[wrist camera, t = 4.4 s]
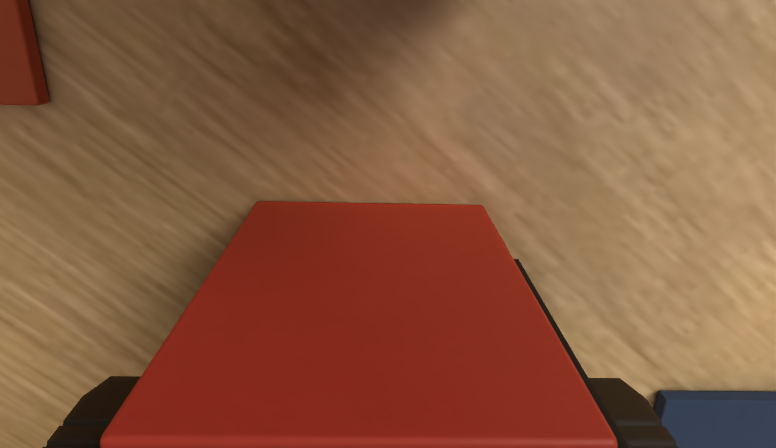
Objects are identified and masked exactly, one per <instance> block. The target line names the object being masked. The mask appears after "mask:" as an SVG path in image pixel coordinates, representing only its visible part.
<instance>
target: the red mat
mask: <svg viewBox="0 0 776 448" xmlns="http://www.w3.org/2000/svg"><path fill="white" fill-rule="evenodd" d="M48 102H49V98H48V93H47V89H46V84H45V79H44V74H43V69H42V64H41V60H40V55H39V50H38V45H37V40H36V36H35V31H34V26H33V21H32V16H31V12H30V7H29V2H28V0H0V105H41V104H45V103H48Z"/></svg>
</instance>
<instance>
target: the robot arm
mask: <svg viewBox="0 0 776 448" xmlns="http://www.w3.org/2000/svg"><path fill="white" fill-rule="evenodd" d="M514 261H515V263H516V264H517V266H518V268H519V270H520V271H521V273H522V275H523V277H524V278H525V280H526V282H527V284H528V285H529V287H530V289H531V291H532V292H533V294H534V296H535V298H536V299H537V301H538V303H539V304H540V306H541V308H542V310H543V311H544V313H545V315H546V317H547V318H548V320H549V322H550V324H551V325H552V327H553V329H554V331H555V332H556V334H557V336H558V338H559V339H560V341H561V343H562V345H563V346H564V348H565V350H566V352H567V353H568V355H569V357H570V359H571V360H572V362H573V364H574V366H575V367H576V369H577V371H578V372H579V374H580V376H581V378H582V379H583V381H584V383H585V385H586V386H587V388H588V390H589V392H590V393H591V395H592V397H593V399H594V400H595V402H596V404H597V406H598V407H599V409H600V411H601V413H602V414H603V416H604V418H605V420H606V421H607V423H608V425H609V427H610V428H611V430H612V432H613V434H614V435H615V437H616V440H617V448H680V447H677V444H676V443H677V442H676V441H675V439H674V438H673V436H672V435H671V434H670V432H669V431H668V429H667V428H666V427H663V426H662V421H661V420H660V418H659V417H658V415H657V414H656V413H655V411H654V410H653V408H652V407H651V406H650V404H649V403H648V401H647V400H646V398H644V397H643V396H642V395H641V394H639V393H638V392H637V391H635V390H634V389H633V388H631V387H630V386H629V385H628V384H626V383H625V382H624V381H622V380H621V379H620V378H588V377H587V375H586V374H585V372H584V370H583V368H582V367H581V365H580V363H579V362H578V360H577V358H576V357H575V355H574V353H573V352H572V350H571V348H570V346H569V345H568V343H567V341H566V340H565V338H564V336H563V335H562V333H561V331H560V329H559V328H558V326H557V324H556V323H555V321H554V319H553V318H552V316H551V314H550V313H549V311H548V309H547V307H546V306H545V304H544V302H543V301H542V299H541V297H540V296H539V294H538V292H537V290H536V289H535V287H534V285H533V284H532V282H531V280H530V279H529V277H528V275H527V274H526V272H525V270H524V268H523V267H522V265H521V263H520V262H519V260H518V259H514ZM139 379H140V377H127V376H111V377H109V378H108V379H106V380H105V381H104V382H102V383H101V384H99V385H98V386H97V387H95V388H94V389H92V390H91V391H90V392H88V393H87V394H85V395H84V396H83V397H82V398H81V399H80V400H79V402H78V403H77V404H76V406H75V407H74V408H73V409H72V411H71V412H70V413H69V414H68V416H67V417H66V418H65V420H64V423H63V426H59V427H58V429H57V430H56V431H55V432H54V434H53V435H52V436H51V437H50V439H49V440H48V441H47V446H46V447H43V448H100V440H101V437H102V434H103V433H104V431H105V430H106V428H107V427H108V425H109V424H110V422H111V421H112V419H113V418H114V416H115V415H116V413H117V412H118V410H119V409H120V407H121V406H122V404H123V403H124V401H125V400H126V398H127V397H128V395H129V394H130V392H131V391H132V389H133V388H134V386H135V385H136V383H137V382H138V380H139Z"/></svg>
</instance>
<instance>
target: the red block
mask: <svg viewBox="0 0 776 448" xmlns="http://www.w3.org/2000/svg"><path fill="white" fill-rule="evenodd" d="M100 448H617V440H616V437H615V435H614V434H613V432H612V430H611V428H610V427H609V425H608V423H607V421H606V420H605V418H604V416H603V414H602V413H601V411H600V409H599V407H598V406H597V404H596V402H595V400H594V399H593V397H592V395H591V393H590V392H589V390H588V388H587V386H586V385H585V383H584V381H583V379H582V378H581V376H580V374H579V372H578V371H577V369H576V367H575V366H574V364H573V362H572V360H571V359H570V357H569V355H568V353H567V352H566V350H565V348H564V346H563V345H562V343H561V341H560V339H559V338H558V336H557V334H556V332H555V331H554V329H553V327H552V325H551V324H550V322H549V320H548V318H547V317H546V315H545V313H544V311H543V310H542V308H541V306H540V304H539V303H538V301H537V299H536V298H535V296H534V294H533V292H532V291H531V289H530V287H529V285H528V284H527V282H526V280H525V278H524V277H523V275H522V273H521V271H520V270H519V268H518V266H517V264H516V263H515V261H514V259H513V257H512V256H511V254H510V252H509V250H508V249H507V247H506V245H505V243H504V242H503V240H502V238H501V236H500V235H499V233H498V231H497V230H496V228H495V226H494V224H493V223H492V221H491V219H490V217H489V216H488V214H487V212H486V210H485V209H484V207H483V206H482V205H449V204H391V203H332V202H274V201H259V202H256V204H255V205H254V207H253V208H252V210H251V211H250V213H249V214H248V216H247V217H246V219H245V220H244V222H243V224H242V225H241V227H240V228H239V230H238V231H237V233H236V234H235V236H234V237H233V239H232V240H231V242H230V243H229V245H228V246H227V248H226V249H225V251H224V252H223V254H222V255H221V257H220V258H219V260H218V261H217V263H216V264H215V266H214V267H213V269H212V270H211V272H210V273H209V275H208V276H207V278H206V279H205V281H204V282H203V284H202V285H201V287H200V288H199V290H198V291H197V293H196V294H195V296H194V297H193V299H192V300H191V302H190V303H189V305H188V306H187V308H186V309H185V311H184V312H183V314H182V315H181V317H180V318H179V320H178V321H177V323H176V324H175V326H174V327H173V329H172V330H171V332H170V333H169V335H168V336H167V338H166V340H165V341H164V343H163V344H162V346H161V347H160V349H159V350H158V352H157V353H156V355H155V356H154V358H153V359H152V361H151V362H150V364H149V365H148V367H147V368H146V370H145V371H144V373H143V374H142V376H141V377H140V379H139V380H138V382H137V383H136V385H135V386H134V388H133V389H132V391H131V392H130V394H129V395H128V397H127V398H126V400H125V401H124V403H123V404H122V406H121V407H120V409H119V410H118V412H117V413H116V415H115V416H114V418H113V419H112V421H111V422H110V424H109V425H108V427H107V428H106V430H105V431H104V433H103V434H102V437H101V440H100Z"/></svg>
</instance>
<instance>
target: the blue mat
mask: <svg viewBox="0 0 776 448" xmlns="http://www.w3.org/2000/svg"><path fill="white" fill-rule="evenodd" d="M654 411H655V413H656V414H657V415H658V417H659V418H660V420H661V421H662V426H663V427H666V428H667V429H668V431H669V432H670V434H671V435H672V436H673V438H674V439H675V441H676V442H677V443H676V444H677V447H680V448H776V392H764V391H659V392H658V396H657V400H656V404H655V408H654Z"/></svg>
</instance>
